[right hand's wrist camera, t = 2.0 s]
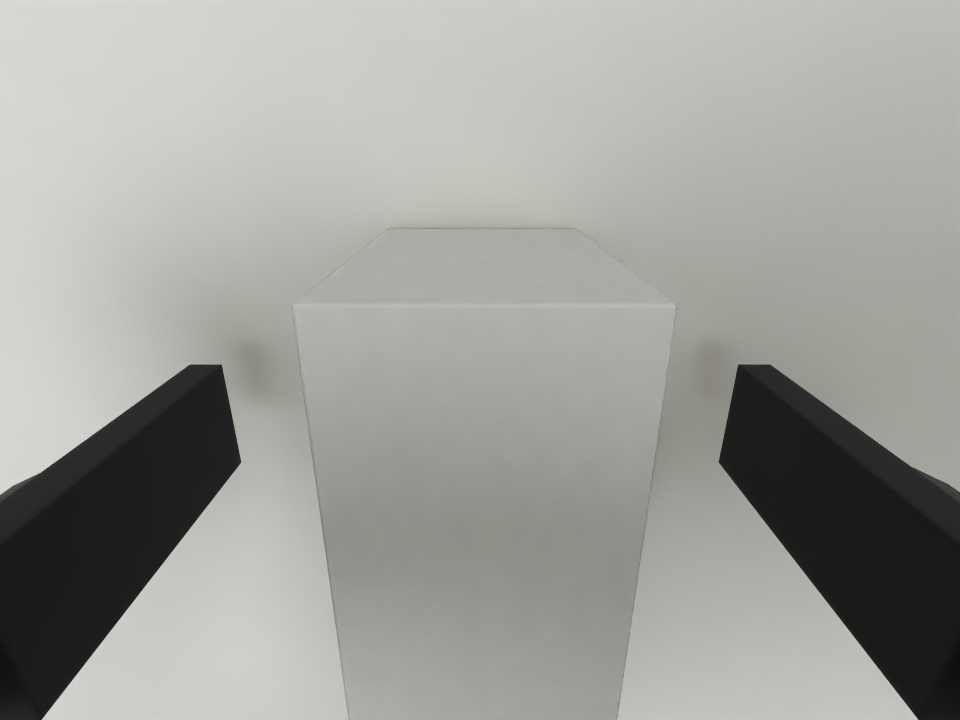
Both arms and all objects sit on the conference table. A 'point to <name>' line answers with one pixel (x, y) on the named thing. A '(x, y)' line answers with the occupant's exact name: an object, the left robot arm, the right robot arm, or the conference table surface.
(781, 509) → the right robot arm
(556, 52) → the conference table surface
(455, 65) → the conference table surface
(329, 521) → the beam
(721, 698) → the conference table surface
